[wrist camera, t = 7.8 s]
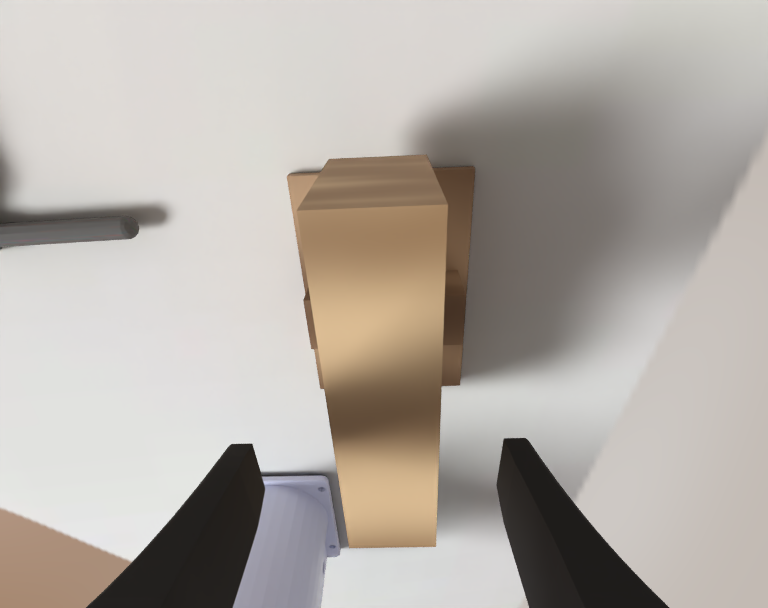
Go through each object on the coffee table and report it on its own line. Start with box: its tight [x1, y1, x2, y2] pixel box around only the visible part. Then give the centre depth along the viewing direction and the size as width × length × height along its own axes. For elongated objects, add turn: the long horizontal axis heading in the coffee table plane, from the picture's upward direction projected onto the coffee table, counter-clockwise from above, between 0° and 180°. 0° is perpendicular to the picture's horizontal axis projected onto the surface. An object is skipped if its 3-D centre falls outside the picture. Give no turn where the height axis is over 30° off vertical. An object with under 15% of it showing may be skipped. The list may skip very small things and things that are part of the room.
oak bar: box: [297, 155, 448, 548], centre depth 16 cm, size 14×4×6 cm, turn 3°
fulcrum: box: [287, 166, 475, 389], centre depth 19 cm, size 12×8×3 cm, turn 2°
